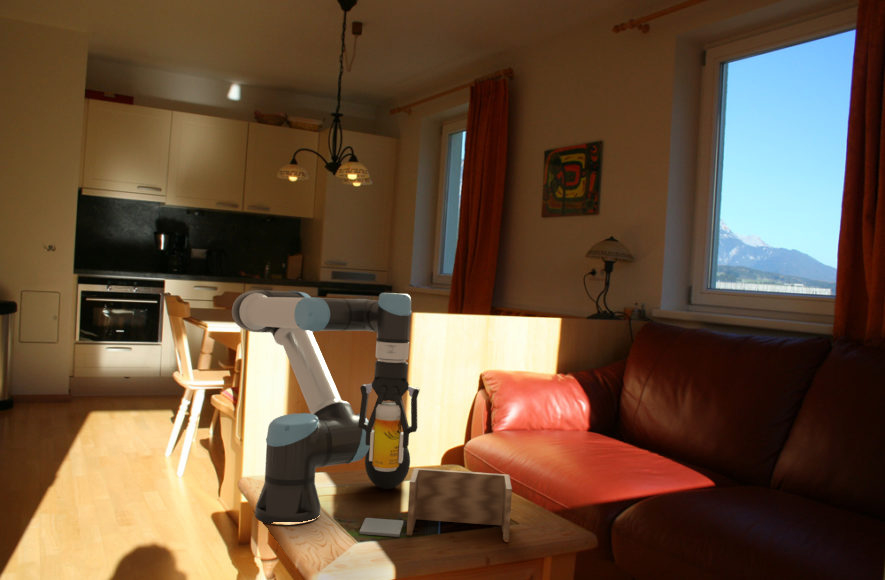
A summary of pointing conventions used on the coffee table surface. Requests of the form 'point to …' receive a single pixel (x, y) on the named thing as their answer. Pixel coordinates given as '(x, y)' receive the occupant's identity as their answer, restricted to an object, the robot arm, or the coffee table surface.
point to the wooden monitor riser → (459, 498)
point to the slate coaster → (381, 527)
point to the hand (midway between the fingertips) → (386, 460)
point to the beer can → (387, 437)
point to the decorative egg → (388, 478)
